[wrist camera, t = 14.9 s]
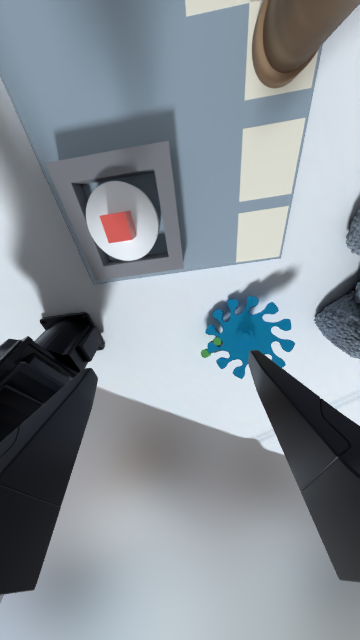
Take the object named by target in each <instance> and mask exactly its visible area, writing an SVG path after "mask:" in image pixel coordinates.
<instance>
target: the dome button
mask: <svg viewBox="0 0 360 640" xmlns="http://www.w3.org/2000/svg"><path fill="white" fill-rule="evenodd" d="M86 221H87V226H88V229H89V231H90V234H91V236H92V237H93V239H94V241H95V242H96V244H97V245H98V246H99V247H100V248H101V249H102V250H103V251H104V252H106V253H107V254H108V255H110V256H112V257H114V258H116V259H119V260H124V261H132V260H137V259H139V258H142V257H143V256H145V255H146V254H147V253H148V252H149V251H150V250H151V249H152V247H153V245H154V243H155V241H156V239H157V237H158V234H159V228H160V221H159V215H158V211H157V208H156V206H155V204H154V203H153V201H152V199H151V198H150V197H149V196H148V195H147V194H146V193H145V192H144V191H143V190H141V189H140V188H138V187H136V186H133V185H131V184H128V183H125V182H121V181H110V182H106V183H103V184H101V185H100V186H98V187H97V188H96V189H95V190H94V191H93V192H92V194H91V195H90V197H89V199H88V202H87V207H86Z"/></svg>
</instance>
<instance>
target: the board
mask: <svg viewBox="0 0 360 640" xmlns="http://www.w3.org/2000/svg"><path fill="white" fill-rule="evenodd" d="M263 3H264V0H0V76H1V79H2V81H3V83H4V85H5V87H6V90H7V92H8V94H9V96H10V99H11V101H12V103H13V105H14V108H15V110H16V112H17V114H18V117H19V119H20V121H21V123H22V125H23V128H24V130H25V132H26V134H27V137H28V139H29V141H30V143H31V146H32V148H33V150H34V152H35V155H36V157H37V159H38V161H39V163H40V166H41V168H42V170H43V172H44V175H45V177H46V179H47V181H48V184H49V186H50V188H51V190H52V193H53V195H54V197H55V199H56V201H57V204H58V206H59V208H60V210H61V213H62V215H63V217H64V219H65V222H66V224H67V226H68V228H69V231H70V233H71V235H72V237H73V239H74V242H75V244H76V246H77V248H78V251H79V253H80V255H81V257H82V260H83V262H84V264H85V266H86V269H87V271H88V273H89V275H90V277H91V280H92V282H93V284H99V283H106V282H113V281H120V280H128V279H135V278H142V277H149V276H156V275H164V274H171V273H178V272H185V271H192V270H200V269H207V268H214V267H221V266H228V265H236V264H243V263H250V262H257V261H264V260H271V259H279V258H281V254H282V249H283V244H284V239H285V234H286V229H287V224H288V218H289V213H290V208H291V203H292V198H293V193H294V188H295V183H296V178H297V172H298V167H299V162H300V157H301V152H302V147H303V142H304V137H305V132H306V127H307V121H308V116H309V111H310V106H311V101H312V96H313V91H314V86H315V81H316V75H317V70H318V65H319V60H320V55H321V50H322V45H323V44H322V45H321V46H320V48H319V49H318V51H317V53H316V54H315V56H314V57H313V59H312V60H311V61H310V63H309V64H308V65H307V66H306V67H305V68H304V69H303V70H302V71H301V72H300V73H299V74H298V75H297V76H296V77H295V78H294V79H293V80H292V81H291V82H290V83H288V84H287V85H285V86H283V87H280V88H269V87H267V86H265V85H264V84H263V83H261V81H260V80H259V79H258V77H257V75H256V72H255V70H254V66H253V61H252V38H253V32H254V28H255V23H256V20H257V17H258V14H259V12H260V9H261V7H262V5H263ZM110 181H121V182H125V183H128V184H131V185H133V186H136V187H138V188H140V189H141V190H143V191H144V192H145V193H146V194H147V195H148V196H149V197H150V198H151V199H152V201H153V203H154V204H155V206H156V208H157V211H158V215H159V221H160V228H159V234H158V237H157V239H156V241H155V243H154V245H153V247H152V249H151V250H150V251H149V252H148V253H147V254H146V255H145V256H143V257H142V258H139V259H137V260H132V261H124V260H119V259H116V258H114V257H112V256H110V255H108V254H107V253H106V252H104V251H103V250H102V249H101V248H100V247H99V246H98V245H97V244H96V242H95V241H94V239H93V237H92V236H91V234H90V231H89V229H88V226H87V221H86V207H87V202H88V199H89V197H90V195H91V194H92V192H93V191H94V190H95V189H96V188H97V187H98V186H100V185H101V184H103V183H106V182H110Z"/></svg>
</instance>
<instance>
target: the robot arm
mask: <svg viewBox="0 0 360 640" xmlns="http://www.w3.org/2000/svg"><path fill="white" fill-rule="evenodd" d="M84 316H85V317H84ZM40 323H41V324H42V326H43V327H44V329H45V331H44V332H43V333H42V334H41V335H40V336H39V337H38V338H37V339H36V340H35V341H33V339H31V338H30V337H29V336H27V337H26V338H24V339H22V340H14V339H8V340H7V341H5V342H4V343H3V344H2V345H0V602H1V600H2V598H3V595H4V594H9V593H17V592H25V591H32V590H34V589H35V586H36V584H37V581H38V578H39V574H40V571H41V568H42V565H43V562H44V559H45V555H46V552H47V549H48V546H49V543H50V540H51V537H52V533H53V530H54V527H55V524H56V521H57V517H58V514H59V511H60V508H61V507H60V506H61V504H62V501H63V498H64V495H65V492H66V488H67V485H68V482H69V479H70V476H71V473H72V469H73V466H74V463H75V460H76V457H77V454H78V450H79V447H80V444H81V441H82V438H83V434H84V431H85V428H86V425H87V422H88V419H89V415H90V412H91V409H92V405H93V401H94V396H95V391H96V386H97V382H98V378H97V375H96V374H95V372H94V371H93V369H92V368H86V369H85V367H86V365H87V363H88V362H90V361H91V360H92V358H93V356H94V354H95V353H96V351H97V350H103V349H104V347H105V346H104V344H103V342H102V339H101V337H100V335H99V333H98V331H97V329H96V327H95V326H94V324H93V322H92V321H91V319H90V317H89V315H88V314H87V313H85V312H82V313H75V314H67V315H59V316H52V317H44V318H42V319H41V320H40ZM100 346H101V347H100ZM248 364H249V367H250V371H251V374H252V377H253V380H254V384H255V387H256V390H257V392H258V395H259V397H260V399H261V402H262V404H263V406H264V409H265V411H266V413H267V415H268V418H269V420H270V422H271V425H272V427H273V429H274V431H275V434H276V436H277V438H278V441H279V443H280V445H281V447H282V450H283V452H284V454H285V457H286V459H287V461H288V463H289V466H290V468H291V470H292V473H293V475H294V477H295V479H296V481H297V484H298V486H299V489H300V491H302V492H301V493H302V496H303V498H304V500H305V503H306V505H307V507H308V509H309V512H310V514H311V516H312V519H313V521H314V523H315V525H316V528H317V530H318V532H319V535H320V537H321V539H322V541H323V544H324V546H325V548H326V551H327V553H328V555H329V557H330V560H331V562H332V564H333V567H334V569H335V571H336V573H337V575H338V578H339V579H340V580H343V581H351V582H360V426H359V425H358V424H356V423H355V422H353V421H352V420H350V419H349V418H347V417H346V416H344V415H343V414H342V413H340V412H339V411H338V410H336V409H335V408H333V407H332V406H331V405H329V404H328V403H327V402H325V401H324V400H323V399H320V397H319V396H318V395H316V394H315V393H314V392H312V391H311V390H310V389H308V388H307V387H306V386H304V385H303V384H302V383H301V382H299V381H298V380H297V379H295V378H294V377H293V376H291V375H290V374H289V373H287V372H286V371H285V370H284V369H282V368H281V367H280V366H278V365H277V364H276V363H274V362H273V361H272V360H270V359H269V358H268V357H267V356H265V355H264V354H263V353H261V352H260V351H259V350H251V351H250V352H249V358H248Z"/></svg>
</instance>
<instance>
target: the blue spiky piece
mask: <svg viewBox="0 0 360 640" xmlns="http://www.w3.org/2000/svg"><path fill="white" fill-rule="evenodd" d="M258 302H259V299H257V298H256V297H253V296H249V297H248V298H247V305H246V308H245V310H244V311H243V312H242V313H241V314H240V315H236V314H235V309H236V308H237V307H238V305H239V302H238V300H236V299H232V300H228V301H227V305H228V306H229V308H230V312H231V315H230V320H229V321H228V322H224V321H223V315H224V314H223V311H222V310H220V309H218V310H216V311H215V312H214V313H212V315H213V317H214V318H215V319H217V320H218V321H219V322H220V323H221V325H222V328H223V332H222V333H218V332H217V331H216V328H215V326H213V325H209V326H208V327H207V329H206V334H208V335H215V336H217V338H214V340H213V341H211V342H209V343H208V349H205V350H202V352H201V355H202V357H204V358H206V357H208V356H210V355H211V353H215V352H218V351H222V350H223V351H227V352H229V354H230V357H229V358H223V357H221V358H219V359H218V360H217V364H218V366H219V367H220V368H221V369H224V368H225V367H226V366H227V364H228V363H229V362H230V361H232V360H236V359H240V360H241V361H242V363H243V365H242V366H239V367H236V368H235V369H234V371H233V374H234V375H235V376H237V377H238V378H241V379H242V378H243V377H244V375H245V367H246V365H247V364H248V358H249V352H250V351H251V350H259V351H260V352H261V353H263V354H264V355H265V354H270V355H271V356H272V361H273V362H274V363H276V364H277V365H278V366H280V367H281V368H282V367H284V366H285V362H284V361H283V360H282V359H281V358H279V357H278V356H276V355H275V354H274V352H273V350H272V348H271V343H272V342H274V341H278V342H279V343H280V345H281V347H282V349H283V350H285V351H286V352H290V351H291V350H292V349H293V347H294V345H295V343H294V342H293V341H291V340H284V339H280V338H278V337H276V336H275V335H273V334H272V333H271V328H272V327H273V326H277V327H279V328H280V329H282V330H284V331H288V330H291V322H290V319H283V320H281V321H279V322H275V323H271V322H265V321H264V320H263V319H262V316H263V315H264V314H275V313H277V312H278V307H277V306H276V305H275V304H274V303H273V302H271V303H269V304H268V305H267V306H266V308H265V309H264V310H263V311H262V312H260V313H258V314H255V315H251V314H250V313H249V309H250V308H251V307H254V306H256V305H257V304H258Z"/></svg>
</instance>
